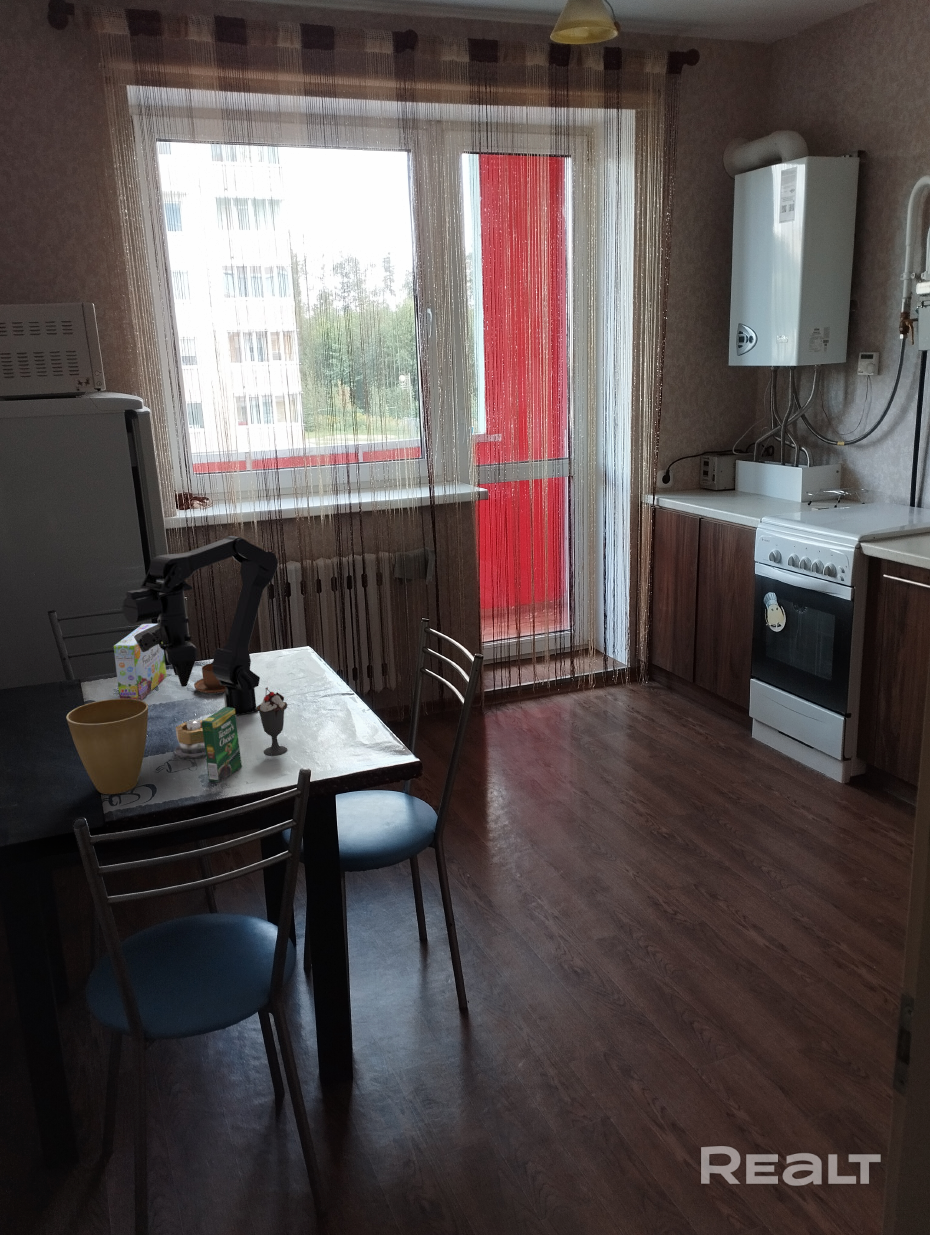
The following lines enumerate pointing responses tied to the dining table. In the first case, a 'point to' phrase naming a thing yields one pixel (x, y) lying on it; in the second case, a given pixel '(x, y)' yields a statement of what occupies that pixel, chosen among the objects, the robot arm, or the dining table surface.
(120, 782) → the plant pot
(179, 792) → the dining table surface
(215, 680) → the cup and saucer
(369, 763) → the dining table surface
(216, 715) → the coffee box
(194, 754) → the silver flanged knob
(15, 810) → the dining table surface
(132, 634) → the snack box
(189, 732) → the ring
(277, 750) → the sundae
